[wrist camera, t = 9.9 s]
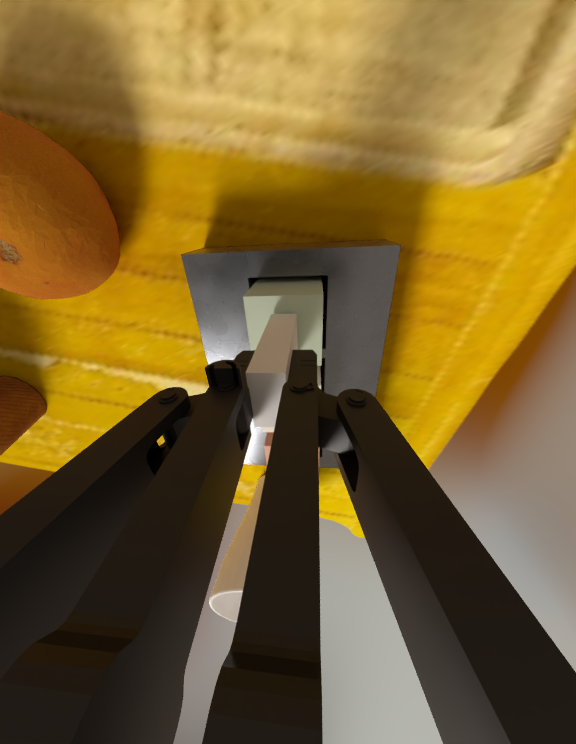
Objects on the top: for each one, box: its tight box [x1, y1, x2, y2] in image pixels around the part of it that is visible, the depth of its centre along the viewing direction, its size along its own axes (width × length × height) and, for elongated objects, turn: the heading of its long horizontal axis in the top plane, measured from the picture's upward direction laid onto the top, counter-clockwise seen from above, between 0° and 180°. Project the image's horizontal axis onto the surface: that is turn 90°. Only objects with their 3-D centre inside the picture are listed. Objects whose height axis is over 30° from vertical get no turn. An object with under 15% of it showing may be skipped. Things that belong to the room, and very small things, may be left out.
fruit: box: [0, 112, 120, 299], centre depth 17 cm, size 10×10×8 cm
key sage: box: [243, 276, 323, 366], centre depth 18 cm, size 5×5×5 cm
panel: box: [181, 239, 401, 468], centre depth 23 cm, size 21×14×4 cm, turn 3°
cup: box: [209, 475, 265, 623], centre depth 30 cm, size 10×10×14 cm
